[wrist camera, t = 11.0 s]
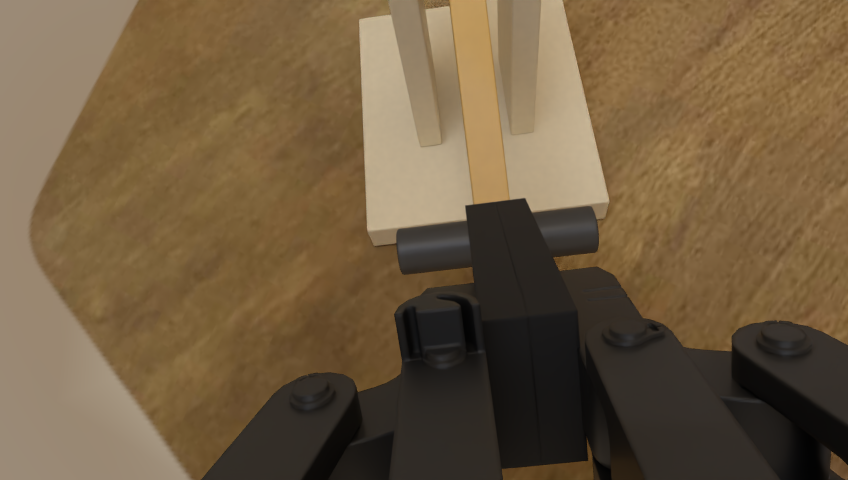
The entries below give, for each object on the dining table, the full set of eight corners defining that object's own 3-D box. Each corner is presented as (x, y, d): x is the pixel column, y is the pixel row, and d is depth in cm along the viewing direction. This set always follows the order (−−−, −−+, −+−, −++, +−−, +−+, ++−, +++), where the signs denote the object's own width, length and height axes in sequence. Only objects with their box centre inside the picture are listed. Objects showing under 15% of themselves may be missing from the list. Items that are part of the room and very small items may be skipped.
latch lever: (589, 250, 21) (604, 253, 18) (406, 272, 21) (398, 277, 19) (541, -155, 21) (550, -205, 18) (358, -125, 21) (343, -170, 19)
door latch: (605, 219, 27) (683, -56, 15) (373, 246, 28) (267, 5, 16) (558, 12, 33) (587, -316, 20) (364, 40, 34) (280, -260, 21)
